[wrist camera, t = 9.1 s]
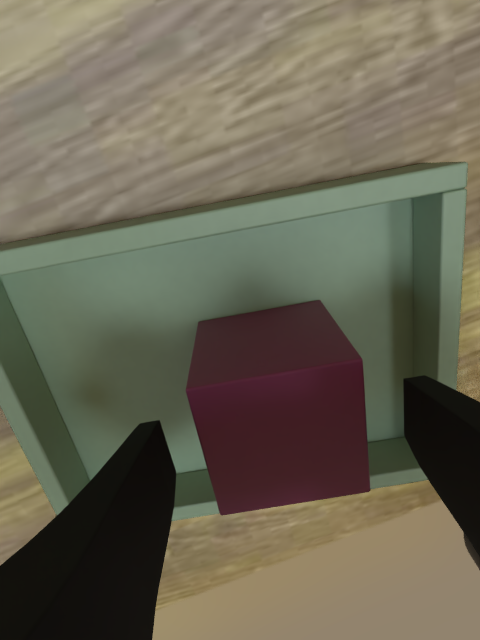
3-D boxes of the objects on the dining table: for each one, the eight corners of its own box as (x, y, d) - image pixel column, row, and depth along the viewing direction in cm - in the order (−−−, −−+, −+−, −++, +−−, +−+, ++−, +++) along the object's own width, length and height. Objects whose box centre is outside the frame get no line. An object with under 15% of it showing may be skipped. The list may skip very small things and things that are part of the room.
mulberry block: (331, 402, 15) (371, 492, 11) (221, 420, 15) (220, 516, 11) (320, 298, 13) (363, 358, 9) (197, 321, 13) (184, 389, 9)
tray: (421, 435, 16) (452, 477, 14) (88, 490, 17) (67, 538, 15) (425, 162, 12) (469, 161, 10) (-22, 248, 13) (-75, 265, 11)
